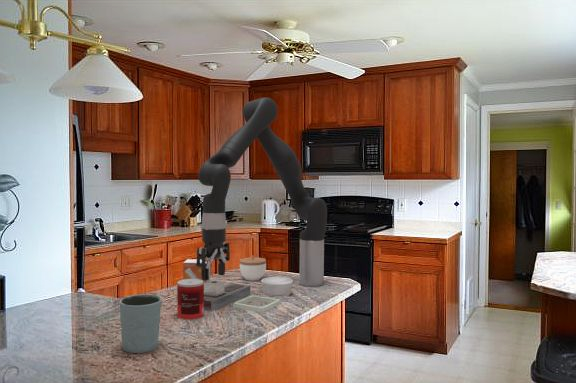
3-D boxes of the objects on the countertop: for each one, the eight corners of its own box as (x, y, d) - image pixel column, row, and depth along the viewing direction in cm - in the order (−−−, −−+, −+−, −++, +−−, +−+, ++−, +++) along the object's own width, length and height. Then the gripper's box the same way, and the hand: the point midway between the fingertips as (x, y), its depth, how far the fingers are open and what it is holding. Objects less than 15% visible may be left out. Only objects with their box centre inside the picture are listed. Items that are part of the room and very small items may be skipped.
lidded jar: (233, 279, 196) (233, 256, 195) (252, 274, 204) (252, 252, 203) (253, 283, 189) (253, 259, 188) (271, 278, 197) (271, 255, 197)
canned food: (194, 312, 151) (193, 277, 150) (209, 318, 145) (209, 281, 145) (172, 318, 146) (171, 281, 145) (187, 324, 140) (186, 286, 139)
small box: (182, 301, 164) (182, 262, 163) (187, 296, 170) (187, 258, 170) (206, 301, 163) (206, 262, 163) (210, 296, 170) (210, 259, 169)
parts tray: (251, 302, 163) (251, 295, 163) (280, 306, 158) (280, 299, 158) (232, 310, 153) (232, 303, 153) (263, 315, 148) (263, 308, 148)
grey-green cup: (138, 337, 129) (137, 292, 128) (170, 343, 125) (170, 296, 124) (110, 350, 120) (110, 302, 119) (144, 357, 116) (143, 307, 115)
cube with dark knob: (212, 301, 160) (212, 279, 160) (224, 303, 158) (224, 281, 158) (204, 304, 156) (204, 282, 156) (215, 306, 154) (215, 284, 154)
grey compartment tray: (230, 294, 172) (230, 283, 172) (250, 297, 169) (250, 285, 168) (190, 310, 153) (190, 297, 153) (211, 314, 149) (211, 301, 149)
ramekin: (292, 299, 167) (292, 284, 167) (259, 299, 167) (259, 283, 167) (292, 291, 178) (293, 276, 178) (262, 290, 179) (262, 276, 178)
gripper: (217, 224, 164) (217, 272, 165) (190, 228, 152) (189, 280, 152) (236, 225, 161) (235, 274, 161) (209, 230, 148) (209, 283, 149)
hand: (213, 277), depth 157 cm, fingers open, 8 cm apart
